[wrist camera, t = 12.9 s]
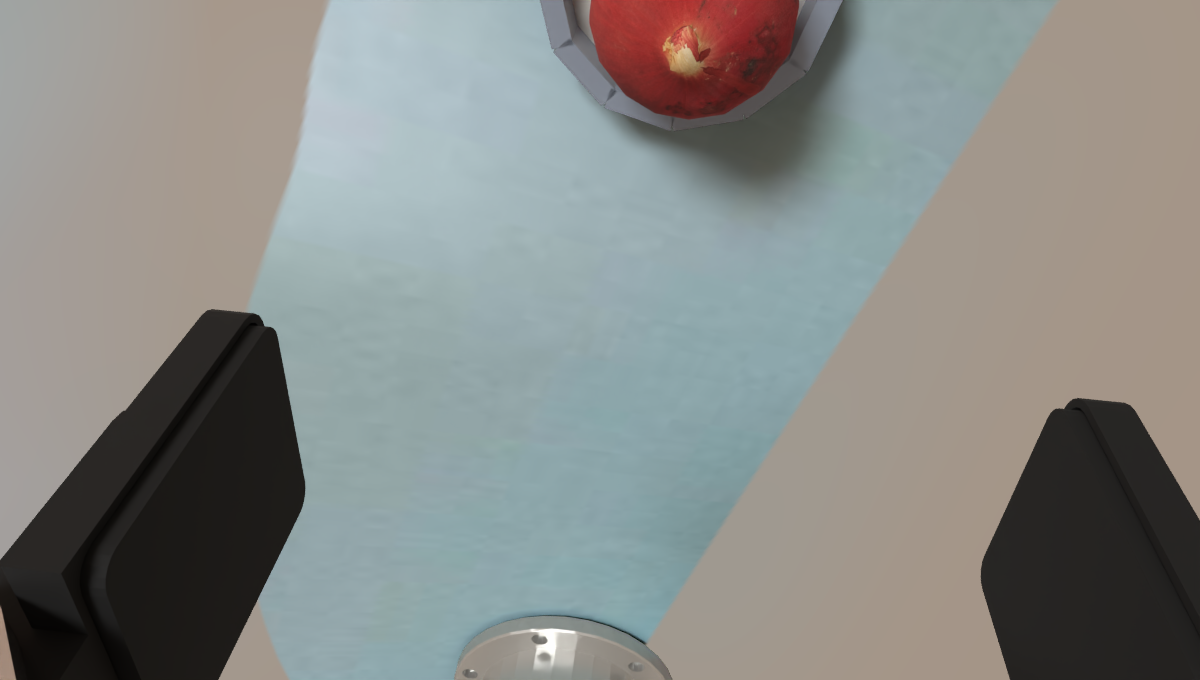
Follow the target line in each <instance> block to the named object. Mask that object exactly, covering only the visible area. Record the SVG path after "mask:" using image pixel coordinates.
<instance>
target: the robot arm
mask: <svg viewBox="0 0 1200 680" xmlns="http://www.w3.org/2000/svg"><path fill="white" fill-rule="evenodd" d="M304 497H305V480H304V474H303V469H302V464H301V459H300V453H299V448H298V443H297V437H296V432H295V427H294V421H293V416H292V411H291V405H290V400H289V395H288V390H287V384H286V379H285V374H284V368H283V363H282V358H281V352H280V347H279V342H278V337H277V334H276V331H275V330H274V328H271V327H265V326H264V324H263V321H262V319H261V318H260V316H259V315H257V314H253V313H244V312H234V311H224V310H214V309H211V310H207V311H206V312H205V313H204V314H203V315H202V316H201V317H200V318H199V320H198V321H197V322H196V323H195V325H194V326H193V327H192V328H191V329H190V331H189V332H188V333H187V334H186V336H185V337H184V338H183V339H182V341H181V342H180V343H179V344H178V346H177V347H176V348H175V350H174V351H173V352H172V353H171V354H170V356H169V357H168V358H167V359H166V361H165V362H164V363H163V364H162V366H161V367H160V368H159V369H158V371H157V372H156V373H155V375H154V376H153V377H152V378H151V379H150V381H149V382H148V383H147V384H146V386H145V387H144V388H143V389H142V391H141V392H140V393H139V394H138V396H137V397H136V398H135V399H134V401H133V402H132V403H131V404H130V406H129V407H128V408H127V409H126V411H123V412H121V413H120V414H119V415H118V416H117V417H116V418H115V419H114V420H113V421H112V422H111V423H110V425H109V426H108V427H107V429H106V430H105V431H104V432H103V434H102V435H101V436H100V437H99V438H98V440H97V441H96V442H95V443H94V445H93V446H92V447H91V448H90V450H89V451H88V452H87V453H86V454H85V456H84V457H83V458H82V459H81V461H80V462H79V463H78V464H77V466H76V467H75V468H74V469H73V471H72V472H71V473H70V474H69V476H68V477H67V478H66V479H65V481H64V482H63V483H62V484H61V485H60V487H59V488H58V489H57V491H56V492H55V493H54V494H53V495H52V497H51V498H50V499H49V500H48V502H47V503H46V504H45V506H44V507H43V508H42V509H41V510H40V512H39V513H38V514H37V515H36V517H35V518H34V519H33V520H32V522H31V523H30V524H29V525H28V527H27V528H26V529H25V530H24V532H23V533H22V534H21V535H20V536H19V538H18V539H17V540H16V541H15V543H14V544H13V545H12V546H11V548H10V549H9V550H8V551H7V553H6V554H5V555H4V556H3V557H2V559H1V560H0V680H218V679H219V677H220V675H221V673H222V671H223V669H224V667H225V665H226V663H227V661H228V659H229V657H230V655H231V653H232V651H233V649H234V647H235V645H236V643H237V640H238V638H239V636H240V634H241V632H242V630H243V628H244V626H245V624H246V622H247V620H248V618H249V616H250V614H251V612H252V610H253V608H254V606H255V604H256V602H257V600H258V598H259V596H260V594H261V592H262V589H263V587H264V585H265V583H266V581H267V579H268V577H269V575H270V573H271V571H272V569H273V567H274V565H275V563H276V561H277V559H278V557H279V555H280V553H281V551H282V549H283V547H284V545H285V543H286V541H287V539H288V536H289V534H290V532H291V530H292V528H293V526H294V524H295V522H296V520H297V518H298V516H299V514H300V512H301V509H302V506H303V502H304ZM981 584H982V589H983V592H984V596H985V599H986V602H987V605H988V609H989V612H990V615H991V618H992V622H993V625H994V628H995V632H996V635H997V638H998V642H999V644H1000V648H1001V651H1002V655H1003V658H1004V661H1005V664H1006V668H1007V671H1008V674H1009V677H1010V680H1200V520H1199V518H1198V517H1197V515H1196V513H1195V512H1194V510H1193V508H1192V507H1191V505H1190V503H1189V501H1188V500H1187V498H1186V496H1185V495H1184V493H1183V491H1182V490H1181V488H1180V486H1179V484H1178V483H1177V481H1176V479H1175V478H1174V476H1173V474H1172V472H1171V471H1170V469H1169V468H1168V466H1167V464H1166V463H1165V461H1164V459H1163V457H1162V456H1161V454H1160V452H1159V450H1158V449H1157V447H1156V445H1155V444H1154V442H1153V440H1152V439H1151V437H1150V435H1149V434H1148V432H1147V430H1146V429H1145V427H1144V425H1143V423H1142V422H1141V420H1140V418H1139V417H1138V415H1137V413H1136V411H1135V410H1134V409H1133V408H1132V407H1131V406H1130V405H1128V404H1126V403H1121V402H1111V401H1101V400H1091V399H1081V398H1077V399H1073V400H1072V401H1070V402H1069V403H1068V404H1067V405H1066V407H1065V409H1055V410H1053V411H1052V412H1051V413H1050V415H1049V417H1048V419H1047V421H1046V423H1045V425H1044V427H1043V430H1042V432H1041V434H1040V436H1039V438H1038V440H1037V443H1036V445H1035V447H1034V449H1033V451H1032V454H1031V456H1030V458H1029V460H1028V462H1027V465H1026V467H1025V469H1024V471H1023V473H1022V475H1021V477H1020V480H1019V482H1018V484H1017V486H1016V488H1015V491H1014V493H1013V495H1012V497H1011V499H1010V501H1009V503H1008V506H1007V508H1006V510H1005V512H1004V514H1003V517H1002V519H1001V521H1000V523H999V526H998V528H997V530H996V532H995V534H994V536H993V538H992V540H991V543H990V545H989V547H988V549H987V551H986V554H985V556H984V559H983V561H982V567H981ZM454 680H672V678H671V675H670V673H669V671H668V669H667V667H666V666H665V665H664V663H663V662H662V661H661V659H660V658H659V657H658V656H657V655H656V654H655V653H654V652H652V651H651V650H650V649H649V648H648V647H647V646H646V645H644V644H643V643H641V642H640V641H638V640H636V639H635V638H633V637H631V636H630V635H628V634H626V633H624V632H621V631H619V630H617V629H614V628H612V627H610V626H607V625H603V624H600V623H596V622H593V621H589V620H584V619H578V618H572V617H564V616H536V617H524V618H519V619H515V620H511V621H506V622H503V623H501V624H498V625H496V626H493V627H491V628H488V629H486V630H485V631H483V632H482V633H480V634H479V635H477V636H476V637H474V638H473V639H472V640H471V641H470V642H469V643H468V644H467V646H466V647H465V648H464V650H463V652H462V654H461V656H460V658H459V660H458V665H457V669H456V673H455V677H454Z"/></svg>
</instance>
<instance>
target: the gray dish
mask: <svg viewBox="0 0 1200 680" xmlns="http://www.w3.org/2000/svg"><path fill="white" fill-rule="evenodd" d="M842 1H843V0H799V10H798V15H797V20H796V25H795V30H794V35H793V40H792V45H791V50H790V54H789V55H788V56H787V58H786V59H785V60H784V62H783V63H782V65H781V66H780V67H779V69H778V70H777V71H776V73H775V74H774V76H773V77H772V78H771V80H770V81H769V82H768V84H767V85H766V87H765V88H764V89H763V90H762V91H761V92H759V93H758V94H756V95H754V96H753V97H751V98H749V99H748V100H746V101H745V102H743V103H742V104H740V105H738V106H737V107H735V108H734V109H732V110H731V111H729V112H727V113H726V114H723V115H717V116H710V117H704V118H697V119H690V120H687V119H682V118H677V117H672V116H666V115H661V114H656V113H654V112H652V111H650V110H649V109H647V108H646V107H644V106H642V105H641V104H639V103H637V102H636V101H634V100H632V99H631V98H629V97H627V96H626V95H625V94H624V93H623V91H622V90H621V89H620V88H619V86H618V85H617V84H616V82H615V81H614V80H613V79H612V77H611V76H610V75H609V73H608V72H607V71H606V69H605V68H604V67H603V66H602V64H601V63H600V62H599V58H598V55H597V51H596V47H595V43H594V39H593V36H592V32H591V28H590V24H589V12H590V4H591V0H540V2H541V7H542V11H543V15H544V19H545V23H546V28H547V32H548V36H549V40H550V44H551V48H552V49H554V52H553V53H554V54H555V55H556V56H557V57H558V58H559V59H560V60H561V61H562V63H563V64H564V65H565V66H566V67H567V68H568V69H569V70H570V71H571V73H572V74H573V75H574V76H575V77H576V78H577V79H578V80H579V81H580V83H581V84H582V85H583V86H584V87H585V88H586V89H587V90H588V91H589V93H590V94H591V95H592V96H593V97H594V98H595V99H596V100H597V101H598V103H599V104H600V105H601V106H602V105H603V104H604V103H605V106H604V108H606V109H609V110H612V111H615V112H618V113H621V114H624V115H626V116H629V117H632V118H635V119H638V120H641V121H643V122H646V123H649V124H652V125H655V126H658V127H660V128H663V129H666V130H669V131H670V130H671V127H672V126H673V131H678V130H684V129H690V128H697V127H703V126H709V125H715V124H722V123H728V122H734V121H741V120H743V115H744V116H745V118H746V119H747V118H748V117H750V116H751V115H752V114H754V113H755V112H756V111H758V110H759V109H760V108H762V107H763V106H764V105H766V104H767V103H768V102H770V101H771V100H772V99H774V98H775V97H776V96H778V95H779V94H780V93H782V92H783V91H784V90H786V89H787V88H788V87H790V86H791V85H792V84H794V83H795V82H796V81H798V80H799V79H800V78H802V77H803V76H804V75H806V71H809V69H810V67H811V65H812V63H813V61H814V59H815V57H816V55H817V53H818V51H819V49H820V47H821V44H822V42H823V40H824V38H825V36H826V34H827V32H828V30H829V28H830V26H831V24H832V22H833V19H834V17H835V15H836V13H837V11H838V9H839V7H840V5H841V3H842ZM805 70H806V71H805Z"/></svg>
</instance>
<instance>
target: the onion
mask: <svg viewBox="0 0 1200 680" xmlns="http://www.w3.org/2000/svg"><path fill="white" fill-rule="evenodd" d="M798 10H799V0H591V4H590V12H589V24H590V28H591V32H592V36H593V39H594V43H595V47H596V51H597V55H598V58H599V62H600V63H601V64H602V66H603V67H604V68H605V69H606V71H607V72H608V73H609V75H610V76H611V77H612V79H613V80H614V81H615V82H616V84H617V85H618V86H619V88H620V89H621V90H622V91H623V93H624V94H625V95H626V96H627V97H629V98H631V99H632V100H634V101H636V102H637V103H639V104H641V105H642V106H644V107H646V108H647V109H649V110H650V111H652V112H654V113H656V114H661V115H666V116H672V117H677V118H682V119H687V120H690V119H697V118H704V117H710V116H717V115H723V114H726V113H727V112H729V111H731V110H732V109H734V108H735V107H737V106H738V105H740V104H742V103H743V102H745V101H746V100H748V99H749V98H751V97H753V96H754V95H756V94H758V93H759V92H761V91H762V90H763V89H764V88H765V87H766V85H767V84H768V82H769V81H770V80H771V78H772V77H773V76H774V74H775V73H776V71H777V70H778V69H779V67H780V66H781V65H782V63H783V62H784V60H785V59H786V58H787V56H788V55H789V54H790V50H791V45H792V40H793V35H794V30H795V25H796V20H797V15H798Z"/></svg>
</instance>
